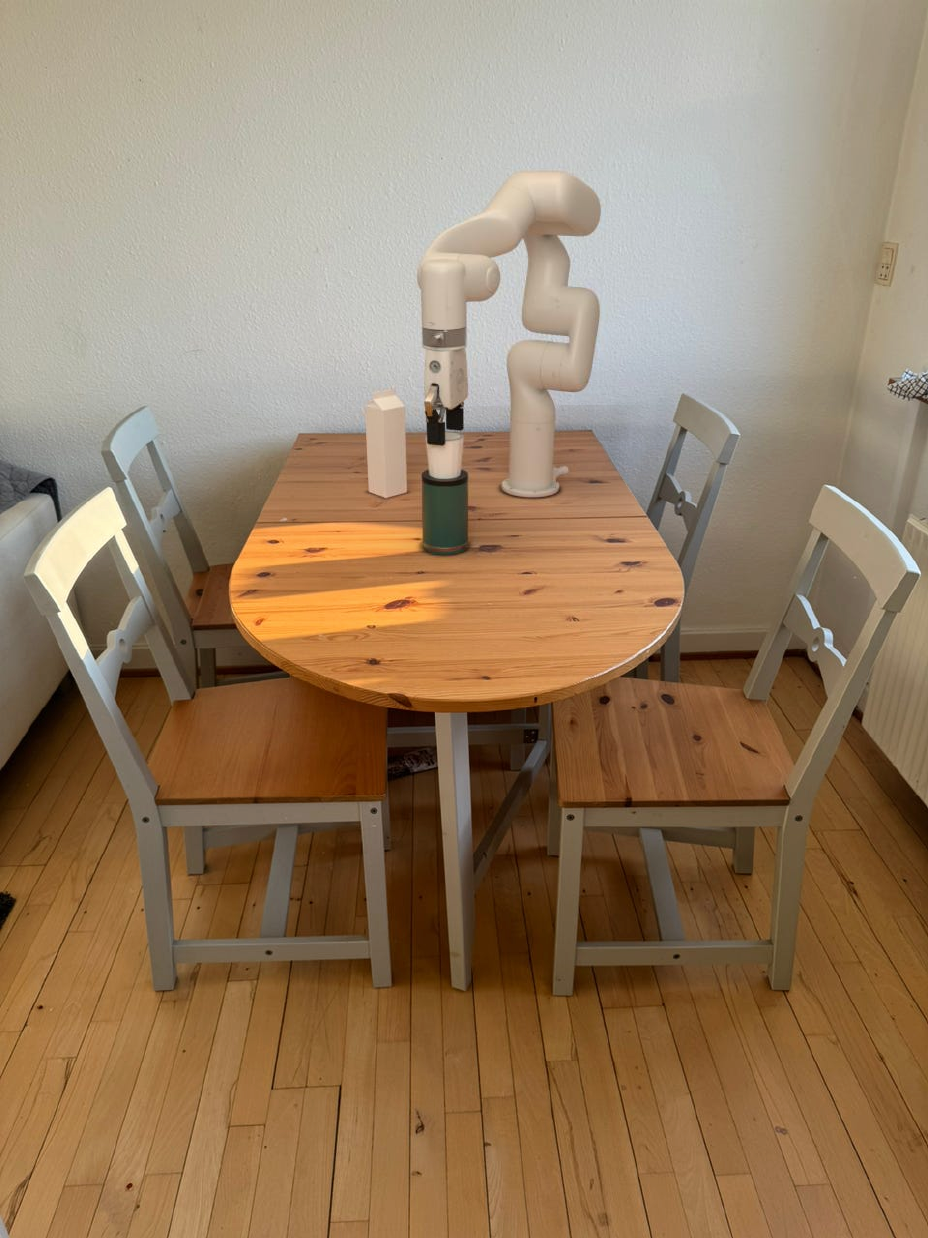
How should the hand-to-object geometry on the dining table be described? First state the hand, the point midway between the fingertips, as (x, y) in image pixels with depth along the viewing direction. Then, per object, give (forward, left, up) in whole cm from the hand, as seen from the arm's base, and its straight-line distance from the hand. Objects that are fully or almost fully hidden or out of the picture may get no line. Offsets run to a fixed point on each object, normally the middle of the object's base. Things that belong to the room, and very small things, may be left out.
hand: (445, 436), depth 167 cm
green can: (0, 0, -21) cm, 21 cm away
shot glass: (0, 0, -7) cm, 7 cm away
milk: (-9, -33, -21) cm, 40 cm away
